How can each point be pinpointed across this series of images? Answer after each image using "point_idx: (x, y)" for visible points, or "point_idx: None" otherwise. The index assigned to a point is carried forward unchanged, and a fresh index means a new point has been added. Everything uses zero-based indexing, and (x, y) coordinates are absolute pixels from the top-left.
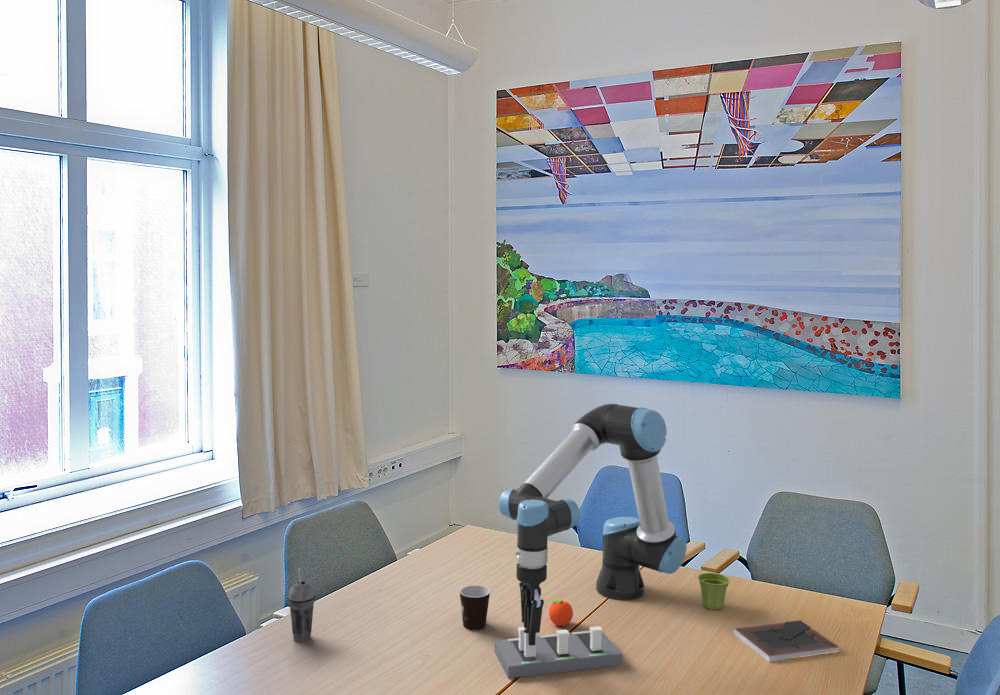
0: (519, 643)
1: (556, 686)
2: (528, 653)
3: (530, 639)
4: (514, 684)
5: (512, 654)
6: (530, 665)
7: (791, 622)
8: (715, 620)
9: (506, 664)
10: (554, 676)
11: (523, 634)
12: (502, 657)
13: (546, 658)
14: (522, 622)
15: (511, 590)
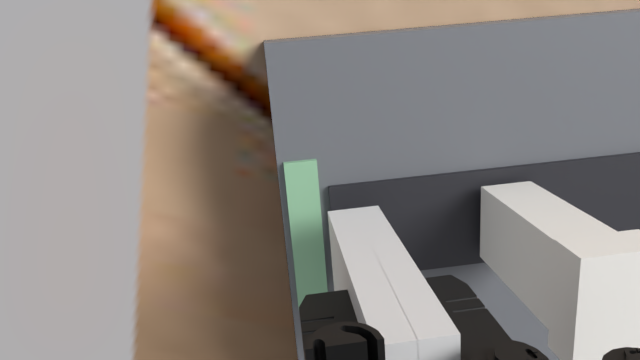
0: (533, 199)
1: (134, 329)
2: (332, 246)
3: (304, 344)
4: (176, 70)
5: (462, 115)
6: (283, 224)
7: None
8: None
9: (327, 37)
10: (256, 336)
11: (554, 271)
12: (457, 26)
13: None
14: (616, 351)
15: None
